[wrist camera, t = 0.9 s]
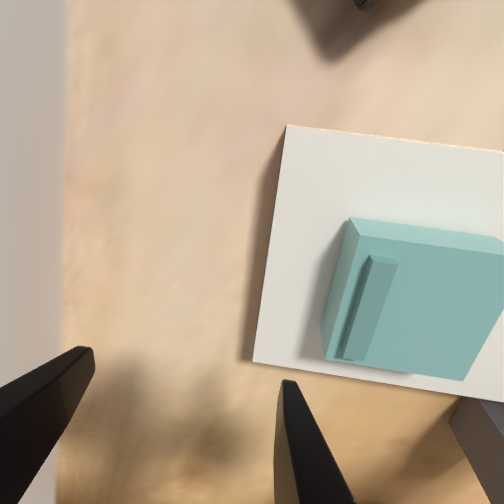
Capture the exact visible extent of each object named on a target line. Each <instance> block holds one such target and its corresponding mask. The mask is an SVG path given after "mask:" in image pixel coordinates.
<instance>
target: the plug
mask: <svg viewBox="0 0 504 504" xmlns="http://www.w3.org/2000/svg"><path fill="white" fill-rule="evenodd" d="M449 424H450V426H451V428H452V430H453V432H454V434H455V435H456V437H457V439H458V441H459V443H460V445H461V447H462V449H463V451H464V453H465V455H466V457H467V459H468V460H469V462H470V464H471V466H472V468H473V470H474V472H475V474H476V476H477V478H478V480H479V482H480V484H481V485H482V487H483V489H484V491H485V493H486V495H487V497H488V499H489V501H490V503H491V504H504V402H498V401H492V400H486V399H480V398H473V397H467V396H464V397H463V399H462V400H461V402H460V404H459V405H458V407H457V409H456V411H455V412H454V414H453V416H452V417H451V419H450V421H449Z"/></svg>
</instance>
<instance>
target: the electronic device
mask: <svg viewBox="0 0 504 504" xmlns="http://www.w3.org/2000/svg"><path fill="white" fill-rule="evenodd" d="M354 1H355V3H356V5H357V7H358V8H359V10H367V9H368V8H369V7H370V6H372V5H373V4H374V3H375V2H377V1H378V0H354Z"/></svg>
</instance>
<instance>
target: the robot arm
mask: <svg viewBox="0 0 504 504" xmlns="http://www.w3.org/2000/svg"><path fill="white" fill-rule="evenodd" d="M94 372H95V361H94V354H93V349H92V348H90V347H85V346H77V347H74V348H73V349H71V350H69V351H67V352H65V353H63V354H62V355H60V356H58V357H56V358H54V359H52V360H50V361H49V362H47V363H45V364H43V365H41V366H39V367H38V368H36V369H34V370H32V371H30V372H28V373H27V374H25V375H23V376H21V377H19V378H17V379H15V380H14V381H12V382H10V383H8V384H6V385H4V386H3V387H1V388H0V504H18V502H19V501H20V499H21V498H22V496H23V495H24V493H25V491H26V490H27V488H28V487H29V485H30V484H31V482H32V480H33V479H34V477H35V476H36V474H37V472H38V471H39V469H40V468H41V466H42V465H43V463H44V462H45V460H46V458H47V457H48V455H49V454H50V452H51V450H52V449H53V447H54V446H55V444H56V443H57V441H58V439H59V438H60V436H61V435H62V433H63V432H64V430H65V428H66V427H67V425H68V423H69V422H70V420H71V418H72V416H73V414H74V412H75V410H76V408H77V406H78V404H79V402H80V400H81V398H82V397H83V395H84V393H85V391H86V389H87V387H88V385H89V383H90V381H91V379H92V377H93V375H94ZM273 465H274V497H275V504H357V503H356V502H355V501H354V502H353V500H354V498H353V496H352V494H351V492H350V490H349V488H348V485H347V483H346V481H345V479H344V477H343V475H342V473H341V471H340V469H339V467H338V465H337V463H336V461H335V459H334V457H333V455H332V453H331V451H330V449H329V447H328V445H327V443H326V441H325V439H324V437H323V435H322V433H321V431H320V429H319V427H318V425H317V423H316V421H315V419H314V417H313V415H312V413H311V411H310V409H309V407H308V405H307V403H306V401H305V399H304V397H303V395H302V393H301V391H300V389H299V386H298V384H297V383H296V382H295V381H292V380H286V379H284V380H282V382H281V387H280V391H279V396H278V402H277V414H276V428H275V441H274V458H273Z"/></svg>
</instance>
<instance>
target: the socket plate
mask: <svg viewBox="0 0 504 504" xmlns="http://www.w3.org/2000/svg"><path fill="white" fill-rule="evenodd" d="M349 217H355V218H362V219H369V220H377V221H384V222H391V223H398V224H406V225H413V226H420V227H428V228H435V229H442V230H450V231H457V232H464V233H472V234H479V235H486V236H493V237H496V238H498V239H499V240H501V241H503V242H504V151H499V150H491V149H483V148H475V147H467V146H459V145H451V144H442V143H434V142H426V141H418V140H410V139H402V138H394V137H386V136H378V135H370V134H362V133H353V132H345V131H337V130H329V129H321V128H313V127H305V126H297V125H289V124H287V126H286V133H285V140H284V147H283V154H282V160H281V167H280V174H279V181H278V188H277V195H276V201H275V208H274V215H273V222H272V229H271V236H270V242H269V249H268V256H267V263H266V270H265V277H264V283H263V290H262V297H261V304H260V311H259V318H258V324H257V331H256V338H255V346H254V353H253V360H252V362H258V363H264V364H270V365H276V366H282V367H288V368H295V369H301V370H307V371H313V372H319V373H325V374H332V375H338V376H344V377H350V378H356V379H362V380H369V381H375V382H381V383H387V384H393V385H399V386H406V387H412V388H418V389H424V390H430V391H436V392H443V393H449V394H455V395H461V396H467V397H473V398H480V399H486V400H492V401H498V402H504V309H503V311H502V313H501V315H500V316H499V318H498V320H497V322H496V324H495V325H494V327H493V329H492V331H491V333H490V334H489V336H488V338H487V340H486V341H485V343H484V345H483V347H482V349H481V350H480V352H479V354H478V356H477V357H476V359H475V361H474V363H473V365H472V366H471V368H470V370H469V372H468V374H467V375H466V377H465V379H464V381H457V380H451V379H444V378H438V377H432V376H426V375H419V374H413V373H407V372H401V371H394V370H388V369H382V368H376V367H369V366H363V365H357V364H351V363H344V362H338V361H332V360H325V355H324V349H323V342H322V336H321V325H322V321H323V317H324V313H325V309H326V305H327V302H328V298H329V294H330V290H331V286H332V282H333V278H334V275H335V271H336V267H337V263H338V259H339V255H340V251H341V247H342V244H343V240H344V236H345V232H346V228H347V224H348V220H349Z"/></svg>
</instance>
